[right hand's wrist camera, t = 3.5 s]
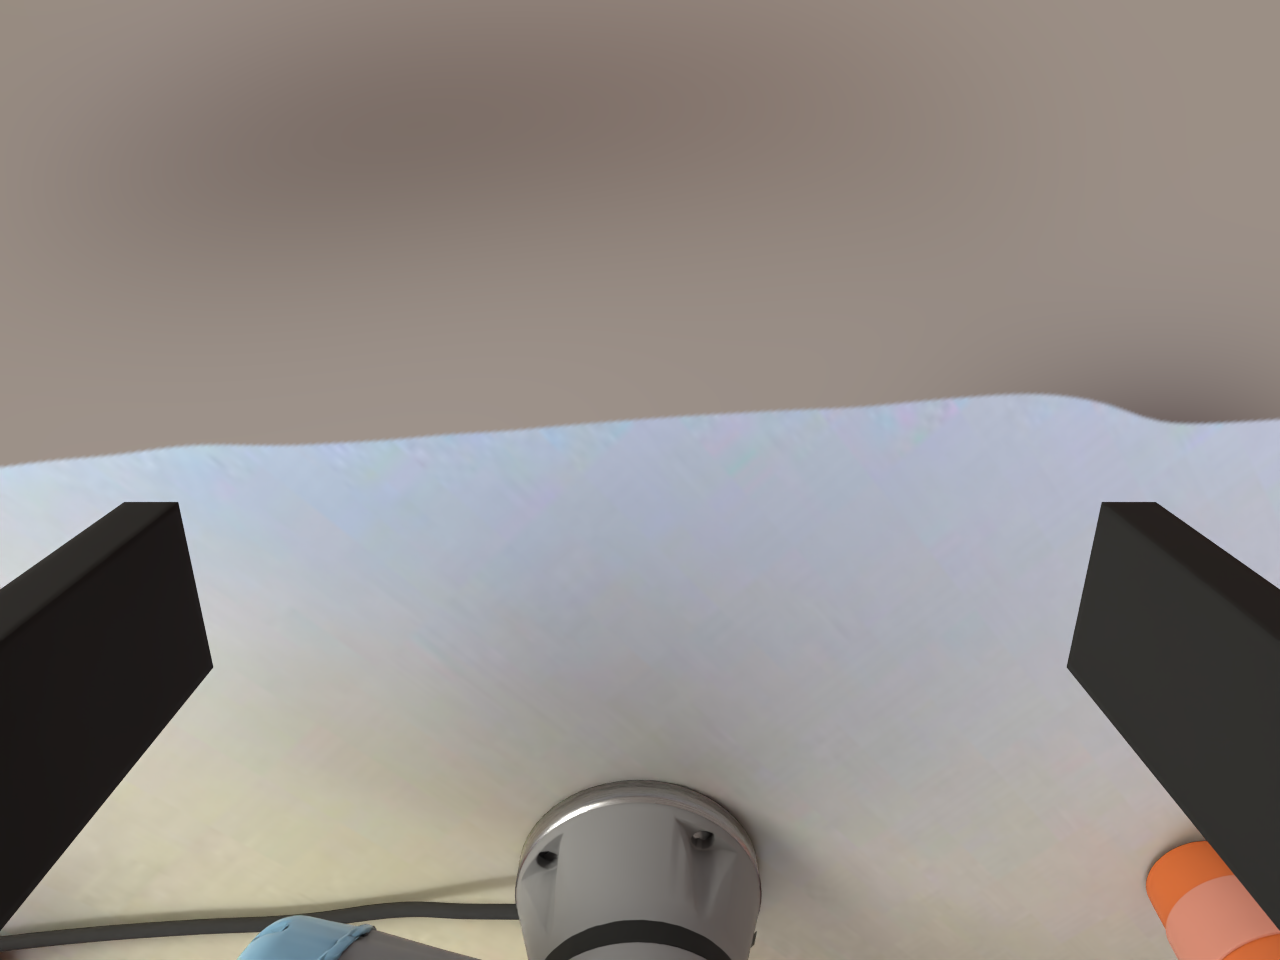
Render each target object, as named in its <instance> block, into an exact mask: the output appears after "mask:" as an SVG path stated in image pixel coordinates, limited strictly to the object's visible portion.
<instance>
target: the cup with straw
mask: <svg viewBox="0 0 1280 960" xmlns="http://www.w3.org/2000/svg"><path fill="white" fill-rule="evenodd" d="M1146 890H1147V894H1148V897H1149V899H1150V901H1151V903H1152V905H1153V907H1154V909H1155V910H1156V912H1157V914H1158V916H1159V918H1160V920H1161V922H1162V923H1163V925H1164V927H1165V929H1166V935H1167V939H1168V941H1169V943H1170V945H1171V947H1172V949H1173V951H1174V952H1175V954H1176V956H1177V958H1178V960H1280V931H1279V929H1278V928H1277V927H1276V926H1275V924H1274V923H1273V922H1272V921H1271V919H1270V918H1269V917H1268V916H1267V915H1266V913H1265V912H1264V911H1263V910H1262V908H1261V907H1260V906H1259V905H1258V903H1257V902H1256V901H1255V900H1254V898H1253V897H1252V896H1251V895H1250V893H1249V892H1248V891H1247V890H1246V889H1245V887H1244V886H1243V885H1242V884H1241V882H1240V881H1239V880H1238V879H1237V877H1236V876H1235V875H1234V874H1233V872H1232V871H1231V870H1230V869H1229V867H1228V866H1227V865H1226V864H1225V863H1224V861H1223V860H1222V859H1221V858H1220V856H1219V855H1218V854H1217V853H1216V851H1215V850H1214V849H1213V848H1212V846H1211V845H1210V844H1209V843H1208V842H1207V841H1198V842H1192V843H1188V844H1184V845H1181V846H1179V847H1177V848H1174V849H1173V850H1171V851H1169V852H1168V853H1166V854H1165V855H1163V856H1162V857H1161V858H1160V859H1159V860H1158V861H1157V862H1156V863H1155V864H1154V866H1153V867H1152V868H1151V870H1150V872H1149V874H1148V877H1147V882H1146Z"/></svg>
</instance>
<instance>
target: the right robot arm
mask: <svg viewBox="0 0 1280 960" xmlns="http://www.w3.org/2000/svg"><path fill="white" fill-rule="evenodd" d="M212 668H213V664H212V659H211V654H210V650H209V645H208V640H207V635H206V631H205V626H204V621H203V617H202V612H201V607H200V603H199V598H198V593H197V588H196V584H195V579H194V574H193V570H192V565H191V560H190V556H189V551H188V546H187V541H186V537H185V532H184V527H183V523H182V518H181V513H180V509H179V504H178V502H124V503H122V504H121V505H119V506H118V507H117V508H115V509H114V510H112V511H111V512H110V513H108V514H107V515H105V516H104V517H102V518H101V519H100V520H98V521H97V522H95V523H94V524H93V525H91V526H90V527H88V528H87V529H85V530H84V531H83V532H81V533H80V534H78V535H77V536H75V537H74V538H73V539H71V540H70V541H68V542H67V543H66V544H64V545H63V546H61V547H60V548H58V549H57V550H56V551H54V552H53V553H51V554H50V555H48V556H47V557H46V558H44V559H43V560H41V561H40V562H39V563H37V564H36V565H34V566H33V567H31V568H30V569H29V570H27V571H26V572H24V573H23V574H21V575H20V576H19V577H17V578H16V579H14V580H13V581H12V582H10V583H9V584H7V585H6V586H4V587H3V588H2V589H0V931H1V929H2V928H3V927H4V926H5V924H6V923H7V922H8V921H9V919H10V918H11V917H12V916H13V915H14V913H15V912H16V911H17V910H18V908H19V907H20V906H21V905H22V903H23V902H24V901H25V900H26V898H27V897H28V896H29V895H30V893H31V892H32V891H33V890H34V889H35V887H36V886H37V885H38V884H39V882H40V881H41V880H42V879H43V877H44V876H45V875H46V874H47V872H48V871H49V870H50V869H51V867H52V866H53V865H54V864H55V863H56V861H57V860H58V859H59V858H60V856H61V855H62V854H63V853H64V851H65V850H66V849H67V848H68V846H69V845H70V844H71V843H72V842H73V840H74V839H75V838H76V837H77V835H78V834H79V833H80V832H81V830H82V829H83V828H84V827H85V825H86V824H87V823H88V822H89V820H90V819H91V818H92V817H93V816H94V814H95V813H96V812H97V811H98V809H99V808H100V807H101V806H102V804H103V803H104V802H105V801H106V799H107V798H108V797H109V796H110V794H111V793H112V792H113V791H114V790H115V788H116V787H117V786H118V785H119V783H120V782H121V781H122V780H123V778H124V777H125V776H126V775H127V773H128V772H129V771H130V770H131V768H132V767H133V766H134V765H135V764H136V762H137V761H138V760H139V759H140V757H141V756H142V755H143V754H144V752H145V751H146V750H147V749H148V747H149V746H150V745H151V744H152V742H153V741H154V740H155V739H156V738H157V736H158V735H159V734H160V733H161V731H162V730H163V729H164V728H165V726H166V725H167V724H168V723H169V721H170V720H171V719H172V718H173V716H174V715H175V714H176V713H177V712H178V710H179V709H180V708H181V707H182V705H183V704H184V703H185V702H186V700H187V699H188V698H189V697H190V695H191V694H192V693H193V692H194V690H195V689H196V688H197V687H198V686H199V684H200V683H201V682H202V681H203V679H204V678H205V677H206V676H207V674H208V673H209V672H210V671H211V669H212ZM1067 668H1068V669H1069V671H1070V672H1071V673H1072V674H1073V676H1074V677H1075V678H1076V679H1077V681H1078V682H1079V683H1080V684H1081V686H1082V687H1083V688H1084V689H1085V690H1086V692H1087V693H1088V694H1089V695H1090V697H1091V698H1092V699H1093V700H1094V702H1095V703H1096V704H1097V705H1098V707H1099V708H1100V709H1101V710H1102V712H1103V713H1104V714H1105V715H1106V716H1107V718H1108V719H1109V720H1110V721H1111V723H1112V724H1113V725H1114V726H1115V728H1116V729H1117V730H1118V731H1119V733H1120V734H1121V735H1122V736H1123V738H1124V739H1125V740H1126V741H1127V742H1128V744H1129V745H1130V746H1131V747H1132V749H1133V750H1134V751H1135V752H1136V754H1137V755H1138V756H1139V757H1140V759H1141V760H1142V761H1143V762H1144V764H1145V765H1146V766H1147V767H1148V768H1149V770H1150V771H1151V772H1152V773H1153V775H1154V776H1155V777H1156V778H1157V780H1158V781H1159V782H1160V783H1161V785H1162V786H1163V787H1164V788H1165V790H1166V791H1167V792H1168V793H1169V794H1170V796H1171V797H1172V798H1173V799H1174V801H1175V802H1176V803H1177V804H1178V806H1179V807H1180V808H1181V809H1182V811H1183V812H1184V813H1185V814H1186V816H1187V817H1188V818H1189V819H1190V820H1191V822H1192V823H1193V824H1194V825H1195V827H1196V828H1197V829H1198V830H1199V832H1200V833H1201V834H1202V835H1203V837H1204V838H1205V839H1206V840H1207V842H1208V843H1209V844H1210V845H1211V846H1212V848H1213V849H1214V850H1215V851H1216V853H1217V854H1218V855H1219V856H1220V858H1221V859H1222V860H1223V861H1224V863H1225V864H1226V865H1227V866H1228V867H1229V869H1230V870H1231V871H1232V872H1233V874H1234V875H1235V876H1236V877H1237V879H1238V880H1239V881H1240V882H1241V884H1242V885H1243V886H1244V887H1245V889H1246V890H1247V891H1248V892H1249V893H1250V895H1251V896H1252V897H1253V898H1254V900H1255V901H1256V902H1257V903H1258V905H1259V906H1260V907H1261V908H1262V910H1263V911H1264V912H1265V913H1266V915H1267V916H1268V917H1269V918H1270V919H1271V921H1272V922H1273V923H1274V924H1275V926H1276V927H1277V928H1278V929H1279V931H1280V589H1278V588H1277V587H1276V586H1274V585H1273V584H1271V583H1270V582H1268V581H1267V580H1266V579H1264V578H1263V577H1261V576H1260V575H1259V574H1257V573H1256V572H1254V571H1253V570H1251V569H1250V568H1249V567H1247V566H1246V565H1244V564H1243V563H1241V562H1240V561H1239V560H1237V559H1236V558H1234V557H1233V556H1232V555H1230V554H1229V553H1227V552H1226V551H1224V550H1223V549H1222V548H1220V547H1219V546H1217V545H1216V544H1214V543H1213V542H1212V541H1210V540H1209V539H1207V538H1206V537H1205V536H1203V535H1202V534H1200V533H1199V532H1197V531H1196V530H1195V529H1193V528H1192V527H1190V526H1189V525H1187V524H1186V523H1185V522H1183V521H1182V520H1180V519H1179V518H1178V517H1176V516H1175V515H1173V514H1172V513H1170V512H1169V511H1168V510H1166V509H1165V508H1163V507H1162V506H1161V505H1159V504H1158V503H1156V502H1102V504H1101V509H1100V513H1099V518H1098V523H1097V527H1096V532H1095V537H1094V541H1093V546H1092V551H1091V556H1090V560H1089V565H1088V570H1087V574H1086V579H1085V584H1084V588H1083V593H1082V598H1081V603H1080V607H1079V612H1078V617H1077V621H1076V626H1075V631H1074V635H1073V640H1072V645H1071V650H1070V654H1069V659H1068V664H1067ZM515 901H516V904H460V903H440V902H396V903H384V904H375V905H367V906H360V907H353V908H346V909H339V910H332V911H325V912H317V913H308V914H297V915H283V916H267V917H244V918H218V919H197V920H181V921H165V922H150V923H136V924H122V925H110V926H98V927H87V928H76V929H66V930H56V931H46V932H36V933H27V934H19V935H11V936H3V937H0V952H2V951H10V950H18V949H27V948H36V947H46V946H55V945H66V944H76V943H87V942H98V941H110V940H123V939H136V938H151V937H166V936H182V935H199V934H220V933H247V932H260V933H259V934H258V935H257V936H256V937H255V938H254V939H253V940H252V942H251V943H250V944H249V945H248V946H247V947H246V949H245V950H244V951H243V952H242V953H241V955H240V956H239V957H238V959H237V960H480V959H476V958H473V957H469V956H465V955H461V954H458V953H454V952H450V951H446V950H443V949H439V948H436V947H432V946H429V945H425V944H422V943H418V942H415V941H411V940H408V939H405V938H401V937H398V936H394V935H391V934H387V933H384V932H380V931H377V930H376V928H375V927H374V926H372V925H370V924H364V925H360V926H354V925H349V924H347V923H354V922H361V921H368V920H376V919H386V918H399V917H435V918H451V919H501V920H520V924H521V929H522V933H523V938H524V942H525V947H526V951H527V956H528V960H748V957H749V953H750V948H751V947H752V946H753V945H754V942H755V937H756V933H757V931H756V932H755V933H754V931H755V926H756V922H757V918H758V914H759V911H760V905H761V883H760V877H759V870H758V864H757V859H756V854H755V851H754V848H753V845H752V843H751V841H750V839H749V837H748V835H747V833H746V832H745V830H744V829H743V827H742V826H741V825H740V823H739V822H738V821H737V820H736V819H735V818H734V817H733V816H732V815H731V814H730V813H729V812H728V811H727V810H726V809H724V808H723V807H722V806H721V805H719V804H718V803H716V802H715V801H713V800H711V799H710V798H708V797H706V796H704V795H702V794H700V793H698V792H695V791H693V790H690V789H687V788H684V787H681V786H678V785H673V784H669V783H664V782H657V781H644V780H635V781H620V782H613V783H607V784H603V785H599V786H595V787H592V788H589V789H586V790H584V791H581V792H579V793H577V794H575V795H572V796H570V797H569V798H567V799H565V800H563V801H562V802H560V803H559V804H557V805H556V806H555V807H553V808H552V809H551V810H550V811H549V812H547V813H546V814H545V815H544V816H543V817H542V818H541V819H540V820H539V821H538V823H537V824H536V825H535V827H534V828H533V829H532V831H531V832H530V834H529V836H528V837H527V839H526V842H525V844H524V846H523V849H522V853H521V856H520V862H519V868H518V874H517V881H516V887H515Z"/></svg>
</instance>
